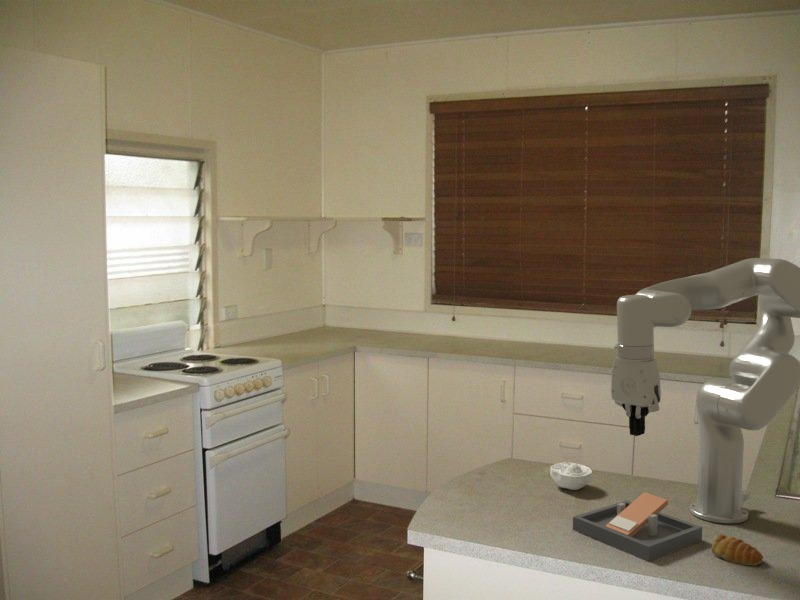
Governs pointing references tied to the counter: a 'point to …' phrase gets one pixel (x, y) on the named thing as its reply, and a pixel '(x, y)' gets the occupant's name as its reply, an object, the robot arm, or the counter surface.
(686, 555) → the counter surface
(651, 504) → the rocker
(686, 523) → the breaker panel
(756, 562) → the pastry
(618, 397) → the robot arm
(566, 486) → the cell model
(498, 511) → the counter surface
